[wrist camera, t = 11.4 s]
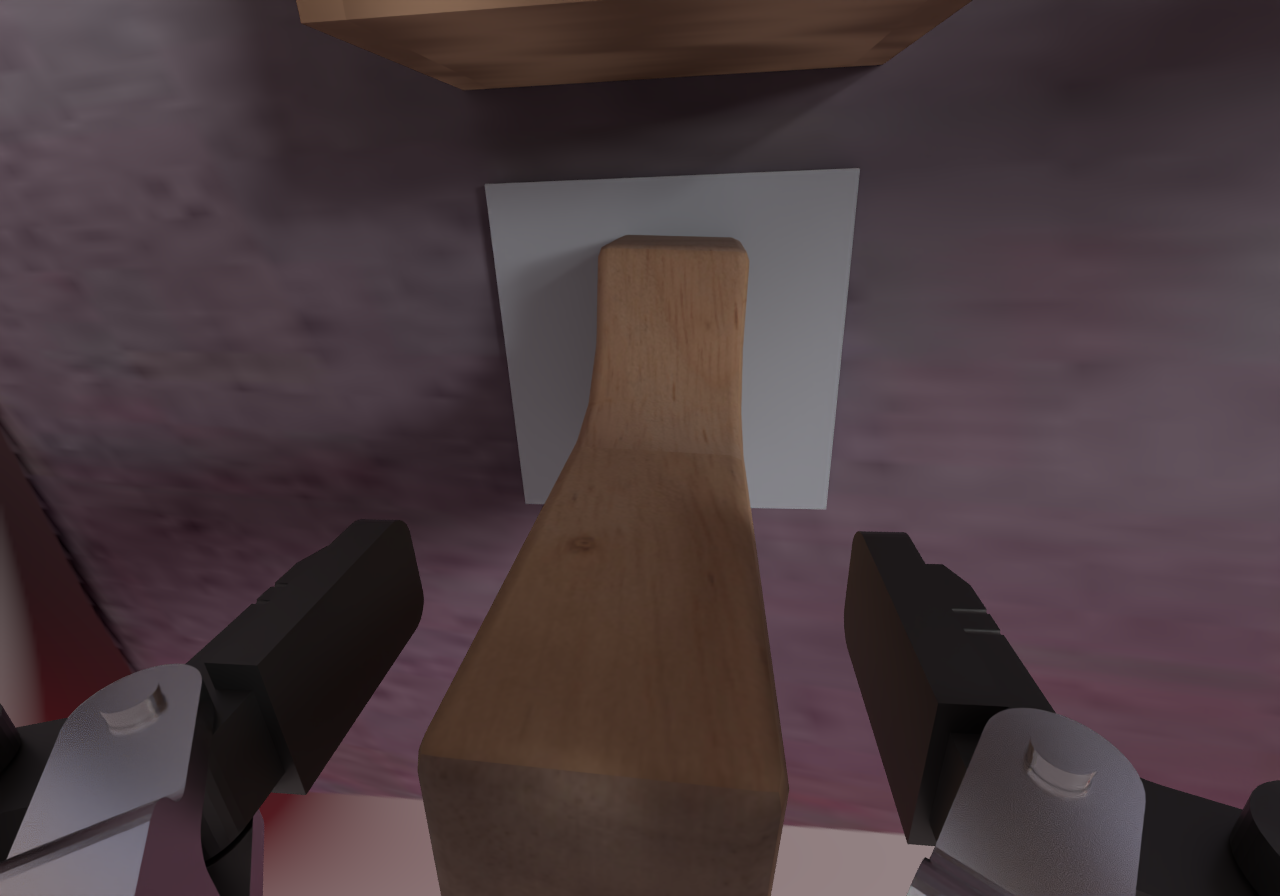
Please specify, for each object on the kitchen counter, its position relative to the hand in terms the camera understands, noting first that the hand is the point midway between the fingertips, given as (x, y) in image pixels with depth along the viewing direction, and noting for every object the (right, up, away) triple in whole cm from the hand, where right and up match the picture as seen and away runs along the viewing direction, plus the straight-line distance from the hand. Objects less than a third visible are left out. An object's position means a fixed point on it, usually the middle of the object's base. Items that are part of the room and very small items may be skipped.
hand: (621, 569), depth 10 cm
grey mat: (+1, +6, +13) cm, 15 cm away
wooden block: (+2, +6, +13) cm, 14 cm away
